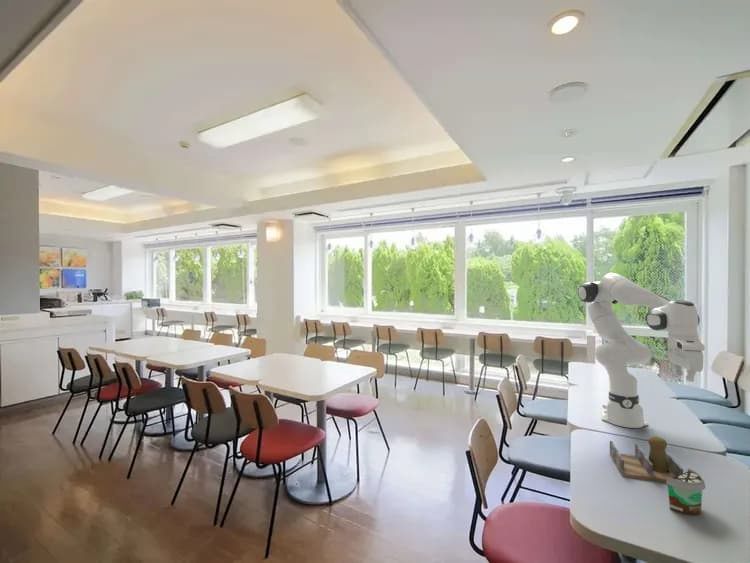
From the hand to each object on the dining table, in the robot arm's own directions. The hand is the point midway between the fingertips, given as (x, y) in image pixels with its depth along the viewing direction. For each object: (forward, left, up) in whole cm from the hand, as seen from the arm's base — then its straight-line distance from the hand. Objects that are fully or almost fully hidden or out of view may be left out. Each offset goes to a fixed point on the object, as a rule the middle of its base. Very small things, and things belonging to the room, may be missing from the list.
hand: (684, 377), depth 134 cm
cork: (+15, -14, -30) cm, 36 cm away
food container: (+38, -13, -31) cm, 51 cm away
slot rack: (+15, -18, -31) cm, 39 cm away
